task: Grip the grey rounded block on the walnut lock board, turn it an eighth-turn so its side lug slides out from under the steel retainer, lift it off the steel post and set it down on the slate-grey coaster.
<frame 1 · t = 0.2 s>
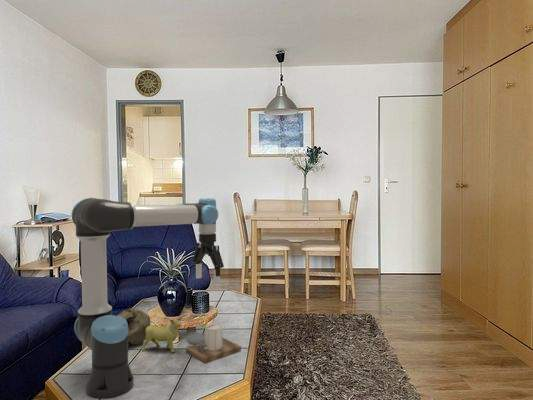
hand: (207, 280, 184), 27 cm above the table, tool pointing down, fingers open, 13 cm apart
coaster: (199, 339, 186), on the table
grey rounded block: (213, 347, 173), point 2 cm above the table, touching lock base
lock base: (213, 351, 173), on the table
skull: (129, 343, 182), on the table
toy: (163, 351, 174), on the table
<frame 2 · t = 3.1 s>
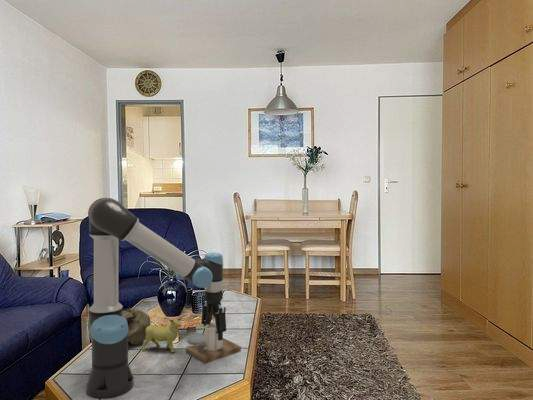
hand: (213, 344, 173), 3 cm above the table, tool pointing down, fingers closed on grey rounded block, 7 cm apart
grey rounded block: (213, 347, 173), point 2 cm above the table, touching gripper, lock base
everything else where it was.
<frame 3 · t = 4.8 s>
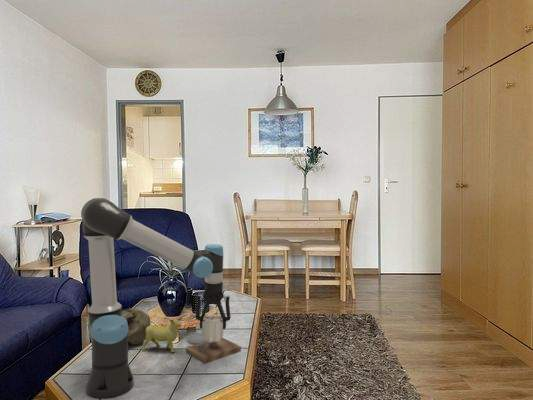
hand: (212, 336, 173), 7 cm above the table, tool pointing down, fingers closed on grey rounded block, 7 cm apart
grey rounded block: (212, 338, 173), point 6 cm above the table, touching gripper
everything else where it was.
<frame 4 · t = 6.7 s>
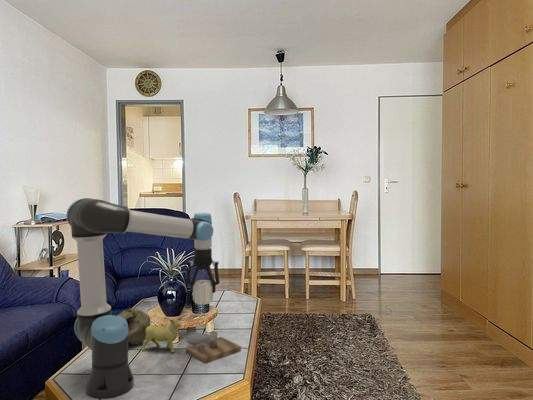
hand: (203, 299, 183), 19 cm above the table, tool pointing down, fingers closed on grey rounded block, 7 cm apart
grey rounded block: (203, 302, 183), point 18 cm above the table, touching gripper
everything else where it was.
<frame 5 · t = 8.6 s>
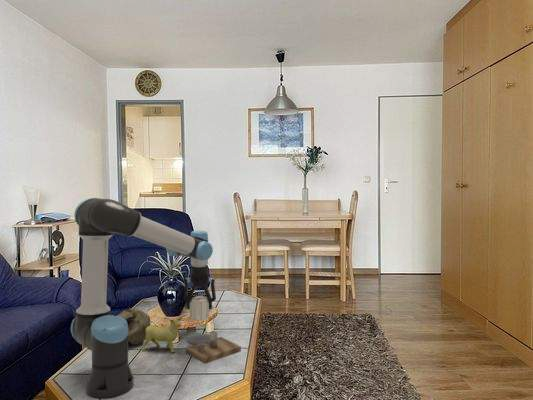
hand: (199, 316, 186), 11 cm above the table, tool pointing down, fingers closed on grey rounded block, 7 cm apart
grey rounded block: (199, 318, 186), point 10 cm above the table, touching gripper
everything else where it was.
when the fingers open (4 cm above the table, at t = 10.3 s): grey rounded block drops 2 cm, resting on coaster.
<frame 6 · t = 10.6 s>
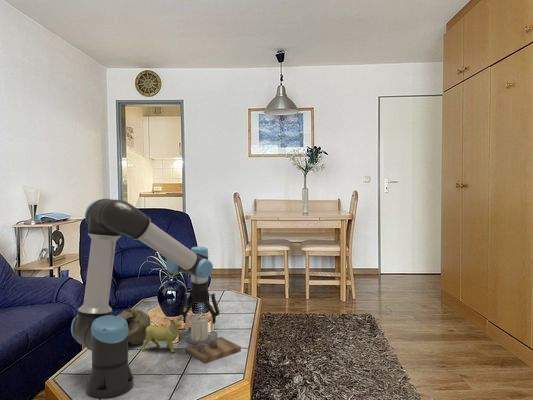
hand: (199, 330, 186), 4 cm above the table, tool pointing down, fingers open, 10 cm apart
grey rounded block: (199, 338, 186), point 1 cm above the table, touching coaster
everything else where it was.
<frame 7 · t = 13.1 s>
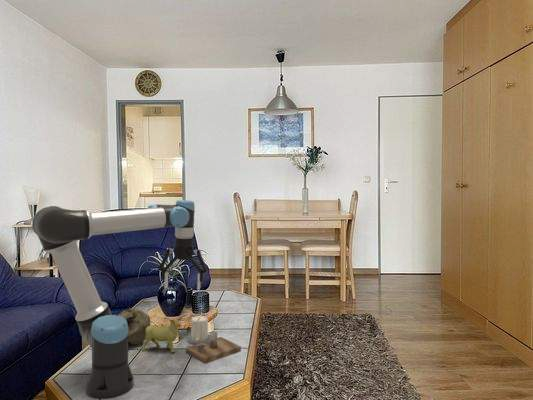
hand: (182, 288, 172), 27 cm above the table, tool pointing down, fingers open, 13 cm apart
nothing on the table moved.
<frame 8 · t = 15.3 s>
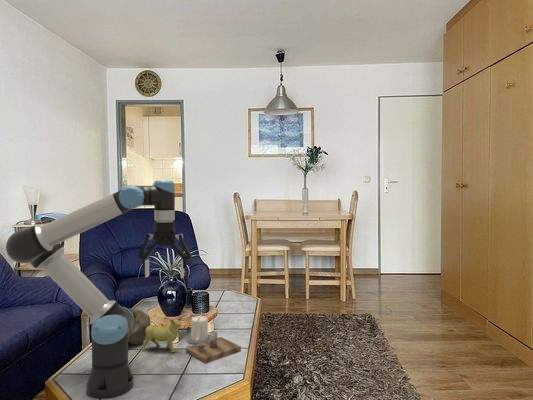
hand: (164, 276, 158), 35 cm above the table, tool pointing down, fingers open, 13 cm apart
nothing on the table moved.
at the end: grey rounded block 0.0 cm off-centre on the coaster, point 0.8 cm above the coaster's base; grey rounded block tilted 0°; the gripper is holding nothing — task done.
